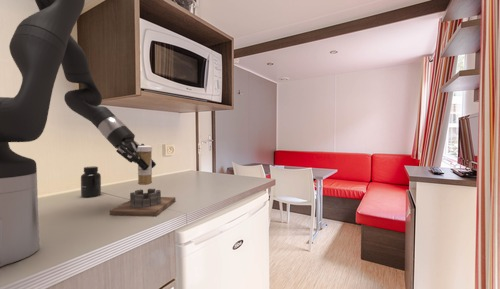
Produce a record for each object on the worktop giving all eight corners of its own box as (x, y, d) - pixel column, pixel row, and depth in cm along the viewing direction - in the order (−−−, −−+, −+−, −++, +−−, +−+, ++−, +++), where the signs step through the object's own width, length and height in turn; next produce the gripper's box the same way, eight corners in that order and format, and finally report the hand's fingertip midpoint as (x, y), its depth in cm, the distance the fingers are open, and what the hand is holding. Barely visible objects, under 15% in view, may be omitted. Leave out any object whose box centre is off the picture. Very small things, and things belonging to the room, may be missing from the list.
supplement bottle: (77, 198, 88) (77, 168, 88) (85, 193, 95) (84, 166, 94) (97, 197, 90) (96, 168, 90) (103, 192, 97) (103, 165, 96)
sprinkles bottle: (136, 185, 75) (136, 146, 74) (139, 182, 79) (138, 145, 78) (151, 184, 76) (151, 146, 75) (153, 182, 81) (152, 145, 80)
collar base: (155, 216, 70) (155, 199, 69) (109, 215, 70) (109, 198, 70) (175, 201, 86) (175, 187, 85) (137, 200, 86) (137, 186, 86)
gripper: (109, 124, 70) (147, 163, 70) (135, 125, 84) (166, 157, 84) (94, 140, 70) (131, 179, 70) (122, 139, 85) (153, 171, 85)
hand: (150, 167), depth 77 cm, fingers closed on sprinkles bottle, 4 cm apart
